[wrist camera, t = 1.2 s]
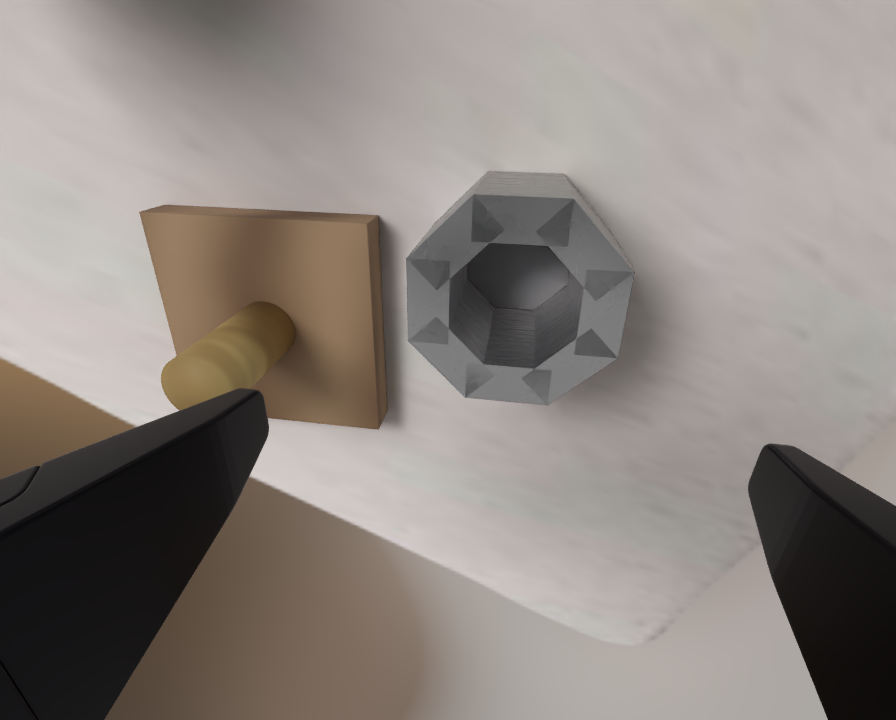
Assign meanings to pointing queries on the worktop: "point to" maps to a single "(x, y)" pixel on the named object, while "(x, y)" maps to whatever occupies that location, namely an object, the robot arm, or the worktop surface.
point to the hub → (515, 330)
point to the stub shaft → (273, 309)
